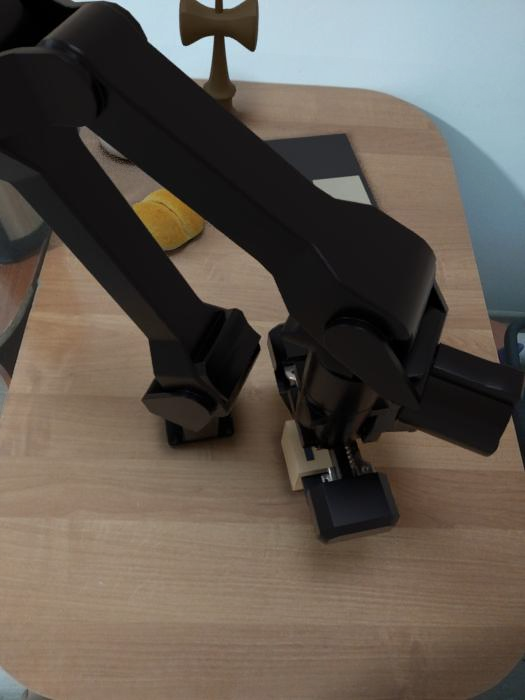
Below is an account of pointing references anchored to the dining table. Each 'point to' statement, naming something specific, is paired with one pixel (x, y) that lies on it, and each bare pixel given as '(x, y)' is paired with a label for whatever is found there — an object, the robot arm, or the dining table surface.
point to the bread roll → (168, 219)
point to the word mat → (327, 165)
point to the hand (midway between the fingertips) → (313, 457)
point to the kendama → (220, 39)
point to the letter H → (302, 456)
